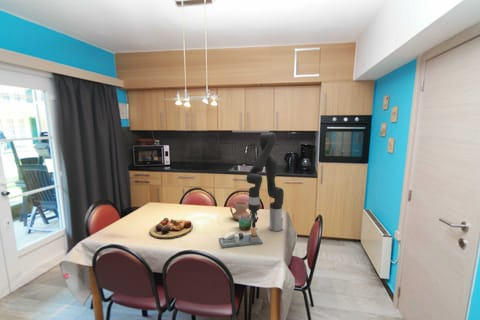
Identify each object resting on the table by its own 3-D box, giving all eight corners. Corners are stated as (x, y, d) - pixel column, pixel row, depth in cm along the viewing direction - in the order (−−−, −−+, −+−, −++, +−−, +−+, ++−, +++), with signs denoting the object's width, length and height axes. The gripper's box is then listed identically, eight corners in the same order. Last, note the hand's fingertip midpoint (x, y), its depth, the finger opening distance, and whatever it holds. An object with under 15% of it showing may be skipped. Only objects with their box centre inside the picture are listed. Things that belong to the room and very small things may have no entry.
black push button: (242, 236, 167) (242, 232, 167) (243, 238, 164) (243, 235, 163) (237, 236, 166) (237, 233, 166) (238, 238, 163) (238, 235, 162)
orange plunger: (255, 234, 163) (255, 227, 162) (257, 236, 160) (257, 229, 159) (250, 234, 162) (250, 228, 162) (252, 237, 159) (252, 230, 158)
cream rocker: (234, 232, 166) (233, 230, 165) (235, 235, 162) (234, 233, 161) (224, 237, 164) (223, 236, 164) (225, 240, 161) (224, 238, 160)
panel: (257, 235, 171) (257, 229, 171) (262, 243, 159) (262, 237, 158) (219, 239, 165) (218, 233, 165) (221, 248, 153) (221, 241, 152)
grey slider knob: (238, 240, 161) (238, 233, 160) (239, 242, 157) (239, 236, 157) (234, 240, 160) (234, 234, 160) (235, 243, 157) (235, 236, 156)
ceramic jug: (252, 216, 207) (252, 200, 205) (249, 222, 193) (248, 206, 191) (232, 215, 211) (232, 199, 209) (228, 221, 197) (227, 204, 195)
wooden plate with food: (200, 224, 192) (199, 214, 191) (179, 241, 162) (179, 230, 161) (165, 220, 201) (165, 211, 200) (140, 237, 170) (139, 226, 169)
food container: (235, 229, 181) (234, 216, 180) (238, 226, 187) (238, 214, 185) (249, 232, 176) (249, 219, 175) (252, 228, 182) (252, 216, 180)
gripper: (262, 205, 152) (261, 230, 154) (256, 199, 165) (256, 223, 167) (251, 206, 151) (250, 231, 153) (246, 200, 163) (246, 223, 166)
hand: (253, 227), depth 160 cm, fingers closed
